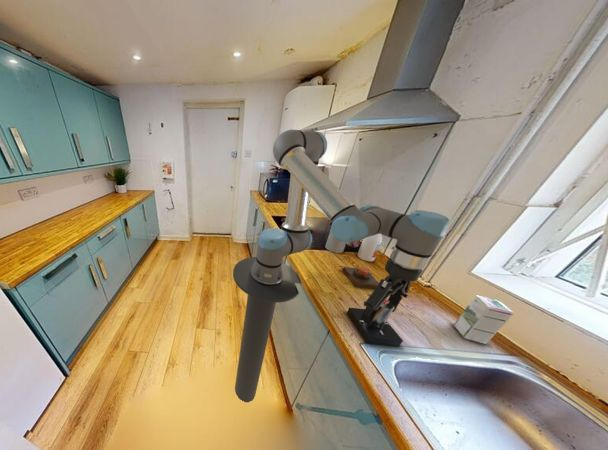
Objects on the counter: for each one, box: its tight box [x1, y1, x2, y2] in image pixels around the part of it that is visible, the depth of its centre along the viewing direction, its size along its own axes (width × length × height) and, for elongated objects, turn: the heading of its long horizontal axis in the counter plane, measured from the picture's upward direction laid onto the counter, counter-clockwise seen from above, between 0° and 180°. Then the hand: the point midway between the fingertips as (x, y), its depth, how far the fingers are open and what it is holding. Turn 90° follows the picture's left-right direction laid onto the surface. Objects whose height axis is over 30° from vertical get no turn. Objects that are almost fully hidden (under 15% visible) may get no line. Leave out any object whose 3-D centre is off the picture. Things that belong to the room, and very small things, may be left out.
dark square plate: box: [342, 266, 380, 290], centre depth 93 cm, size 12×10×4 cm
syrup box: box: [453, 294, 515, 345], centre depth 65 cm, size 6×6×14 cm
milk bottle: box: [357, 234, 383, 262], centre depth 106 cm, size 8×8×20 cm
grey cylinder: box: [324, 227, 347, 254], centre depth 116 cm, size 10×10×12 cm
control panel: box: [346, 307, 404, 348], centre depth 68 cm, size 12×10×3 cm
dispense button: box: [357, 266, 370, 276], centre depth 91 cm, size 4×4×2 cm
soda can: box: [346, 240, 361, 248], centre depth 120 cm, size 6×6×12 cm
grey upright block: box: [370, 299, 394, 329], centre depth 66 cm, size 5×5×9 cm
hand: (377, 315), depth 66 cm, fingers open, 13 cm apart
